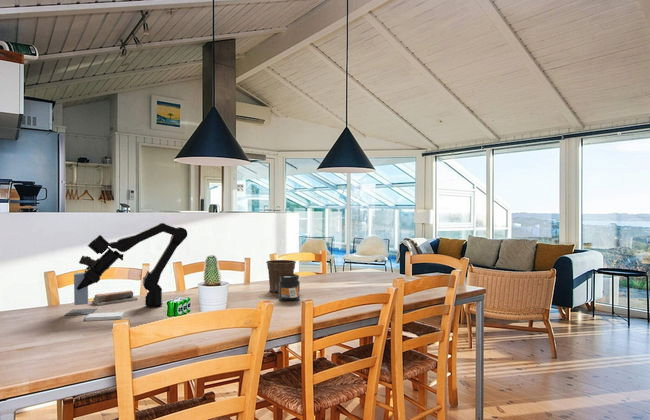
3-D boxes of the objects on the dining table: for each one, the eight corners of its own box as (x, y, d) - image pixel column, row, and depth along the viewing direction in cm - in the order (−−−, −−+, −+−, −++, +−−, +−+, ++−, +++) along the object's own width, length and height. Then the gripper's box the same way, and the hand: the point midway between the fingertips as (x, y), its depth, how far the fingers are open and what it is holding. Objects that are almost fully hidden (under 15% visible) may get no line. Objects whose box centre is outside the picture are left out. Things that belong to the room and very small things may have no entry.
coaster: (96, 309, 198) (96, 308, 198) (90, 314, 189) (90, 313, 189) (72, 310, 196) (72, 309, 196) (64, 315, 186) (64, 314, 186)
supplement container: (295, 302, 214) (295, 277, 214) (275, 300, 217) (275, 276, 217) (302, 298, 224) (302, 274, 224) (283, 296, 227) (283, 273, 227)
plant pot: (284, 286, 255) (284, 258, 255) (301, 290, 243) (301, 261, 243) (260, 290, 245) (260, 261, 245) (277, 294, 232) (277, 263, 232)
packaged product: (98, 296, 206) (91, 293, 213) (98, 306, 206) (91, 303, 213) (137, 291, 219) (129, 288, 226) (137, 300, 219) (129, 298, 226)
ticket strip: (125, 314, 188) (125, 311, 188) (121, 318, 182) (121, 315, 182) (89, 316, 185) (89, 313, 185) (83, 320, 179) (83, 317, 179)
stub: (88, 301, 196) (87, 272, 196) (87, 304, 191) (87, 273, 191) (75, 302, 194) (74, 273, 193) (74, 305, 189) (73, 274, 189)
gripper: (91, 247, 202) (63, 273, 198) (90, 250, 186) (60, 279, 181) (111, 263, 206) (84, 289, 201) (111, 268, 189) (82, 296, 184)
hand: (77, 288), depth 192 cm, fingers closed on stub, 5 cm apart
